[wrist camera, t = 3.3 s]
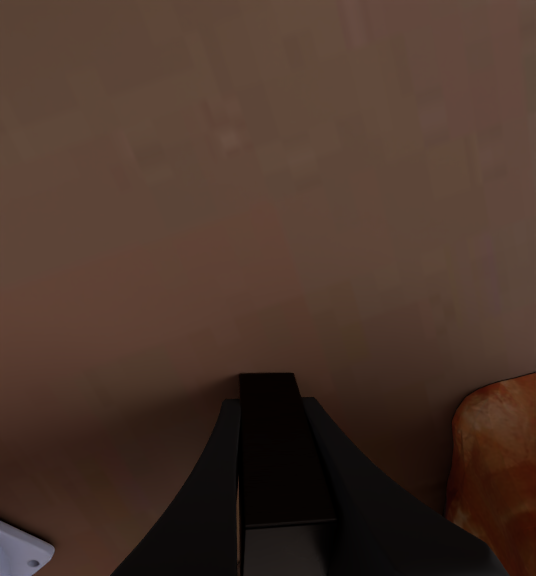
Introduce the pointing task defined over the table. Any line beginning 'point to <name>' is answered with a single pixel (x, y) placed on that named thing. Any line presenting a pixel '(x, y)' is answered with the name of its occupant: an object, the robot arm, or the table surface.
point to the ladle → (281, 483)
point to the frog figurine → (497, 471)
